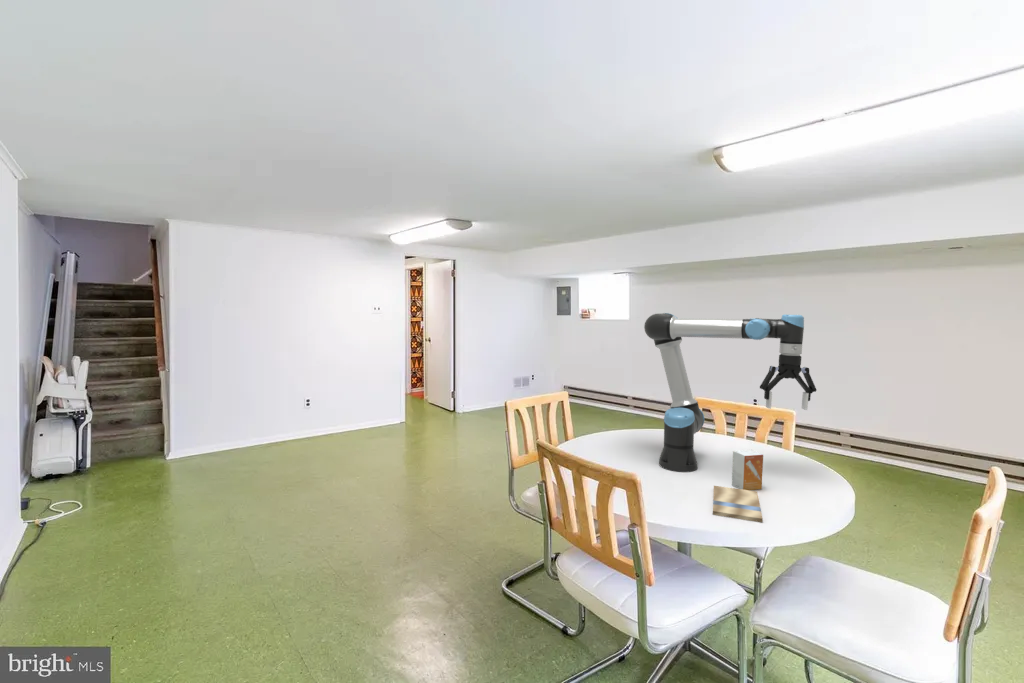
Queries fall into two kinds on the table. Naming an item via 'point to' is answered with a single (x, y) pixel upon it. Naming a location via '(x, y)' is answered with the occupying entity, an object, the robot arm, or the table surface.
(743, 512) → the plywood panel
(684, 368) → the robot arm
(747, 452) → the small box
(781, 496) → the table surface
